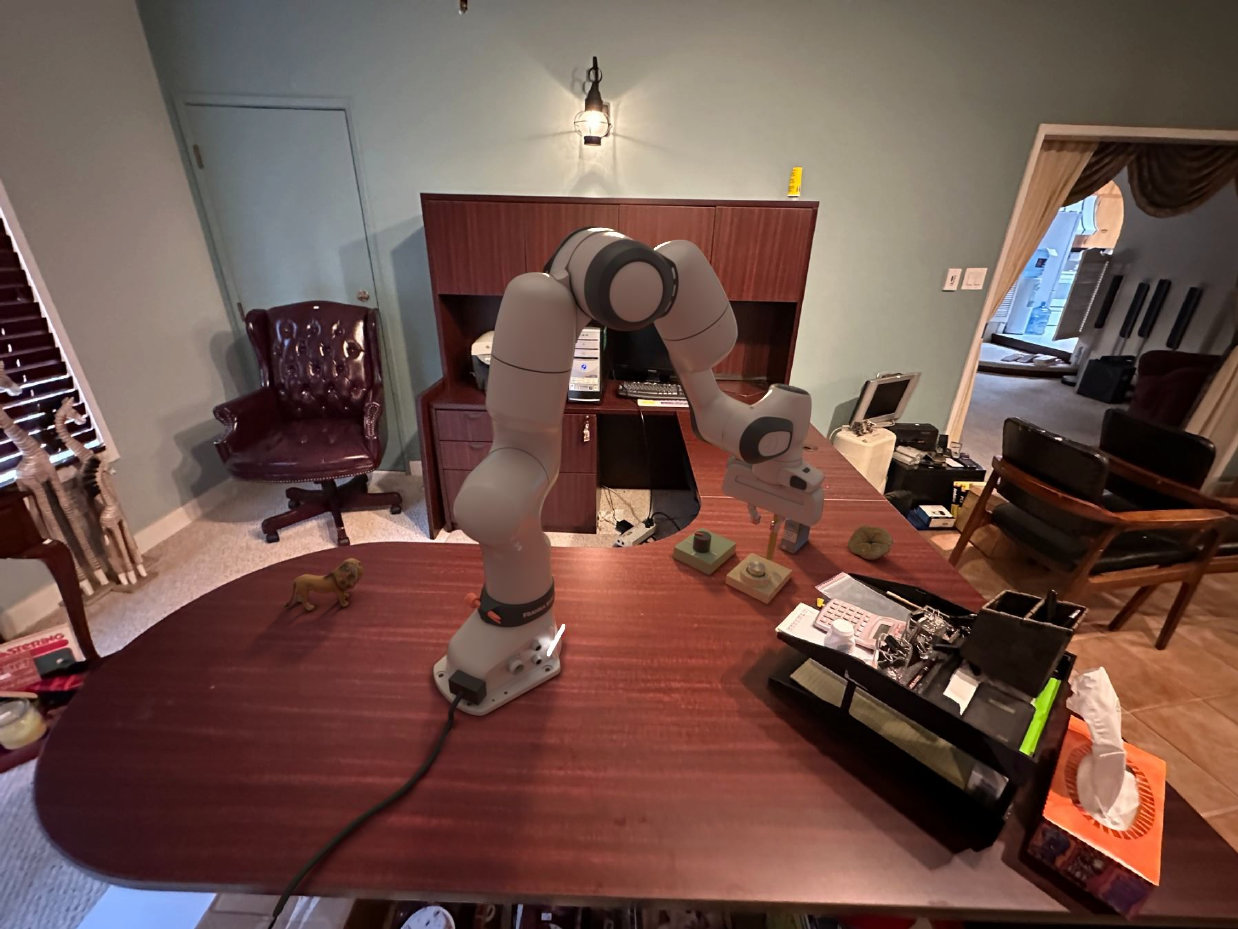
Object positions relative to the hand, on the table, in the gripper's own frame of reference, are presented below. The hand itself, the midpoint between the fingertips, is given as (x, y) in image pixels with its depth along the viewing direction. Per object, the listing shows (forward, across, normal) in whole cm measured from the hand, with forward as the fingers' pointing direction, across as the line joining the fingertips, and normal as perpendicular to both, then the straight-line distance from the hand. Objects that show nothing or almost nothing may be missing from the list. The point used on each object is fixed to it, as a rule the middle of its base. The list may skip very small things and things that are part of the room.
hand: (764, 526), depth 102 cm
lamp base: (+15, 0, +2) cm, 15 cm away
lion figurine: (+15, -60, -64) cm, 89 cm away
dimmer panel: (+15, -14, +2) cm, 21 cm away
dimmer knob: (+12, -14, 0) cm, 18 cm away
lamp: (+11, 0, +12) cm, 16 cm away
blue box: (+15, 0, +22) cm, 27 cm away
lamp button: (+12, 0, 0) cm, 12 cm away
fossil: (+15, +15, +32) cm, 38 cm away
